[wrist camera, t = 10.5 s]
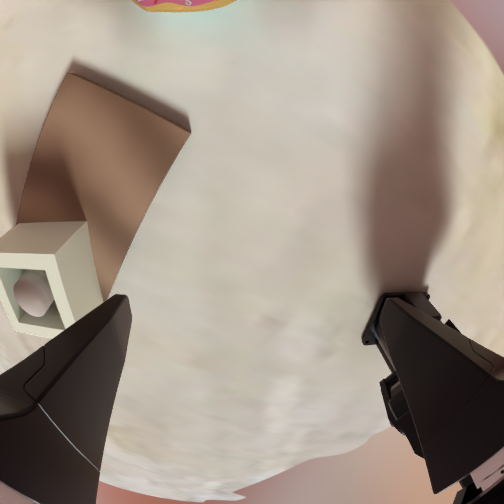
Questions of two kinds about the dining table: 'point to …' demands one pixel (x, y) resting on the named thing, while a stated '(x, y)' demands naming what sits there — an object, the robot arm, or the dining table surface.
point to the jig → (95, 176)
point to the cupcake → (181, 5)
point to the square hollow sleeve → (50, 274)
